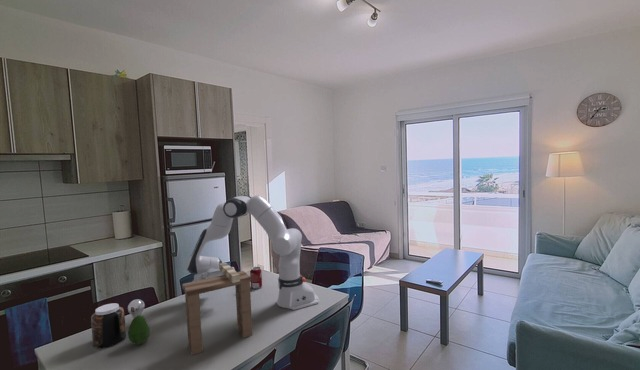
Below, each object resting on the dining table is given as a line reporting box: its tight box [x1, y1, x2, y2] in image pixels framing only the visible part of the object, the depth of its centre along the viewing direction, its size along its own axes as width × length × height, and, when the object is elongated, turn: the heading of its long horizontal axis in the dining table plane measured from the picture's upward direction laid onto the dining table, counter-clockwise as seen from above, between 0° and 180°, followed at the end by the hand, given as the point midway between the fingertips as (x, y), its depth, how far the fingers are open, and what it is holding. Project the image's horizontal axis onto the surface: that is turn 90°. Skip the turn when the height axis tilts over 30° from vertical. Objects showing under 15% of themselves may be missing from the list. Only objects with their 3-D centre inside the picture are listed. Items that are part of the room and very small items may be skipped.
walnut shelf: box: [182, 270, 253, 356], centre depth 134 cm, size 10×26×26 cm, turn 123°
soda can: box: [249, 266, 263, 290], centre depth 191 cm, size 7×7×12 cm
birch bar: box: [219, 262, 240, 283], centre depth 139 cm, size 20×3×3 cm, turn 33°
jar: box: [90, 302, 127, 349], centre depth 136 cm, size 12×12×15 cm
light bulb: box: [127, 298, 146, 320], centre depth 150 cm, size 7×7×12 cm
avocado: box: [127, 315, 151, 345], centre depth 134 cm, size 8×8×12 cm
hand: (217, 271), depth 157 cm, fingers open, 8 cm apart
